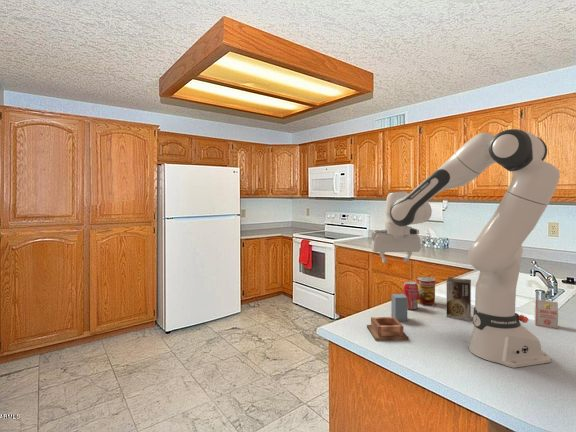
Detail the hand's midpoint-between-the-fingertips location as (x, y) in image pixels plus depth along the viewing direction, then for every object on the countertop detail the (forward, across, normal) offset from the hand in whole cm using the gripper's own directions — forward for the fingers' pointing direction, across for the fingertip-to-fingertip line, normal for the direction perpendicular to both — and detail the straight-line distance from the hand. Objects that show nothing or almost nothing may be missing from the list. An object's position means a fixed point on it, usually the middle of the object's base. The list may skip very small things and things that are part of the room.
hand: (395, 262), depth 136 cm
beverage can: (+24, +12, +12) cm, 30 cm away
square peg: (+24, +2, -1) cm, 24 cm away
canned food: (+24, +23, +17) cm, 38 cm away
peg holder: (+24, -9, -14) cm, 29 cm away
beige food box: (+24, +56, -14) cm, 63 cm away
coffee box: (+24, +28, -1) cm, 37 cm away
